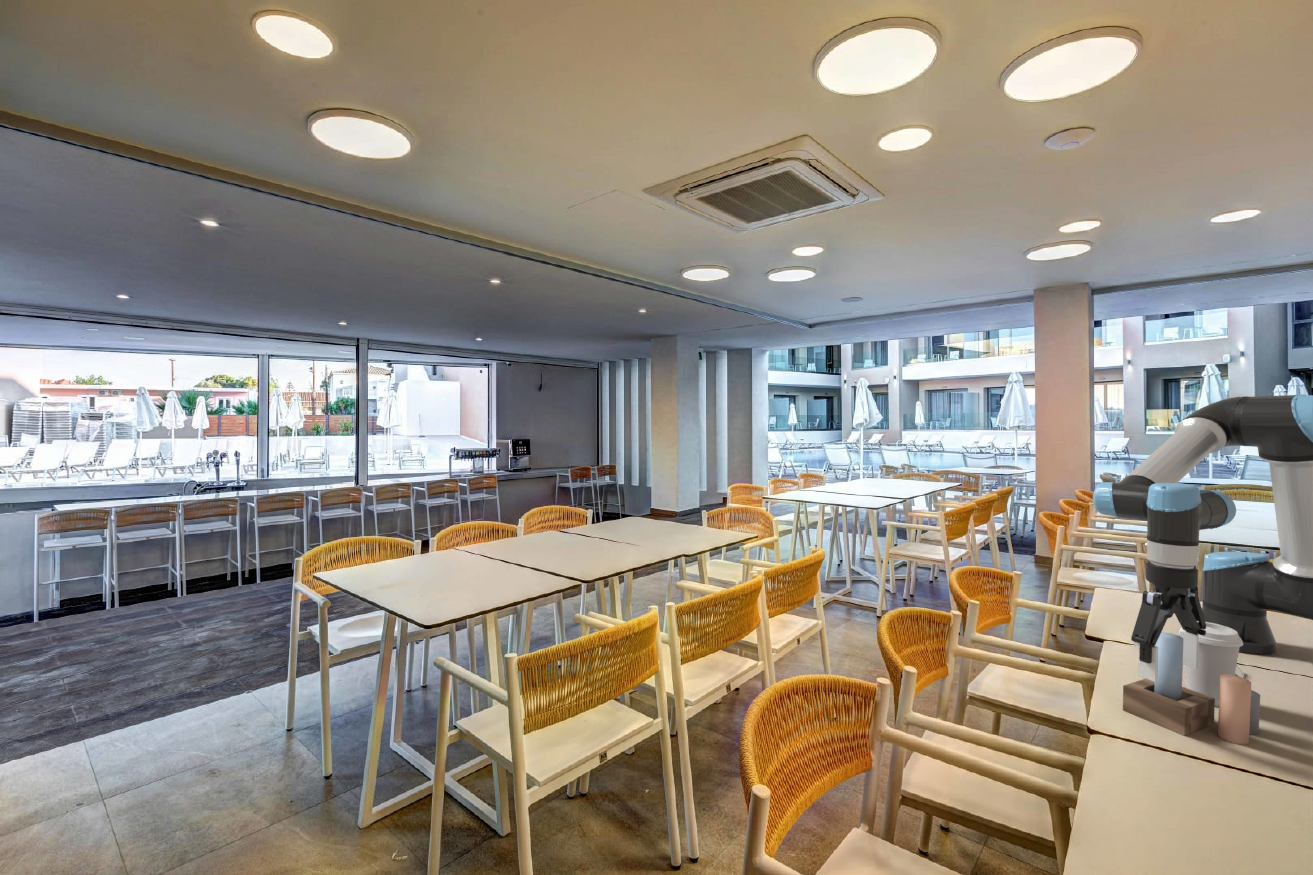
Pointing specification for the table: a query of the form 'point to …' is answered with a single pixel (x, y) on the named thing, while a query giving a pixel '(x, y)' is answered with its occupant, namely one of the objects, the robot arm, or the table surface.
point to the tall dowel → (1169, 666)
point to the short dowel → (1254, 713)
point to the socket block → (1169, 707)
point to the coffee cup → (1213, 659)
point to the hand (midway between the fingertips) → (1168, 671)
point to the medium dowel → (1234, 709)
